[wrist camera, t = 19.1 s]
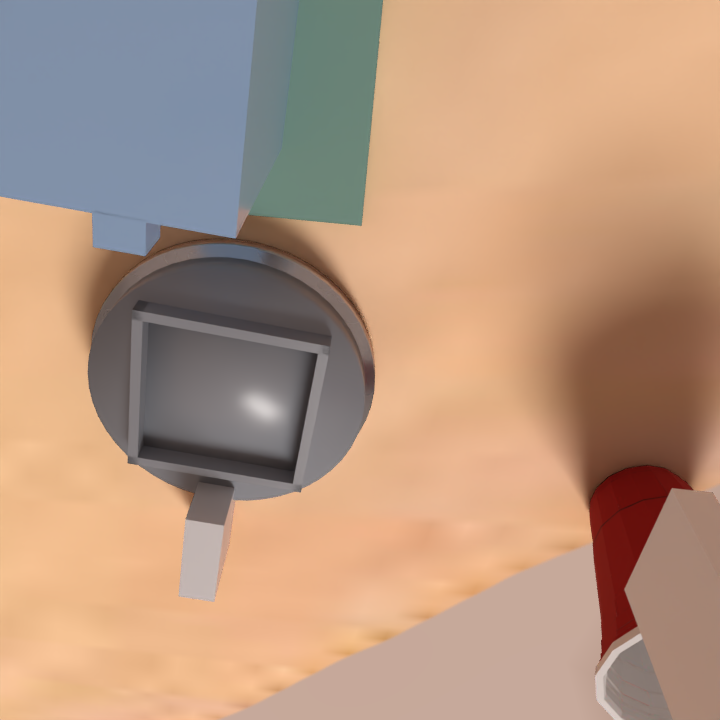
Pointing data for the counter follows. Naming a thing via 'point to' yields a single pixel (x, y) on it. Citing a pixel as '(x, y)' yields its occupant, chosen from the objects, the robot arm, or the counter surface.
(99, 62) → the blue block
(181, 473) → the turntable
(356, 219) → the plate
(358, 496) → the counter surface
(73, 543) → the counter surface
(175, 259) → the turntable base
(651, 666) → the plastic cup
